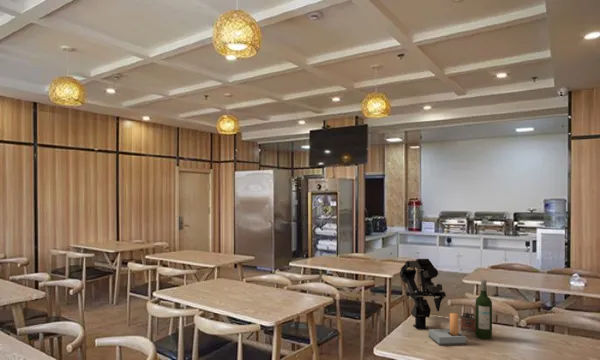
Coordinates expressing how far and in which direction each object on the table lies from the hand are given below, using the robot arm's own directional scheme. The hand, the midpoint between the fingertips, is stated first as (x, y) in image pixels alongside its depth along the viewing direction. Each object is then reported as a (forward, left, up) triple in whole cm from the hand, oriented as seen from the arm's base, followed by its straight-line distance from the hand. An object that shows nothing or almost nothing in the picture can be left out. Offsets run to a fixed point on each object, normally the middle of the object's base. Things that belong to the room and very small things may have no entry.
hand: (430, 311), depth 217 cm
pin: (+9, +8, -12) cm, 17 cm away
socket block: (+7, +5, -13) cm, 16 cm away
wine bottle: (+4, +27, -13) cm, 31 cm away
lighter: (-6, +24, -13) cm, 28 cm away
